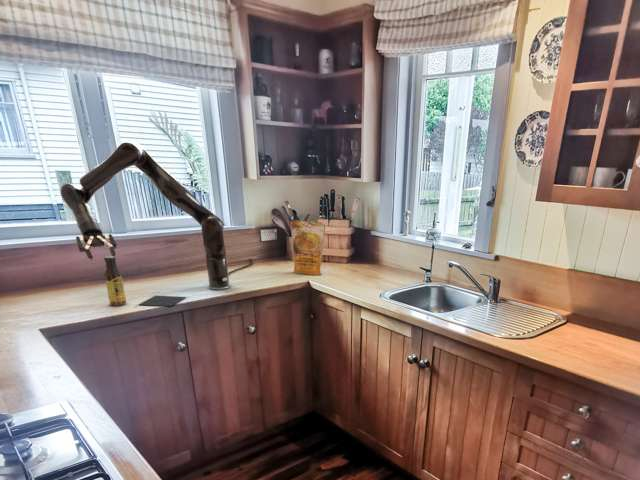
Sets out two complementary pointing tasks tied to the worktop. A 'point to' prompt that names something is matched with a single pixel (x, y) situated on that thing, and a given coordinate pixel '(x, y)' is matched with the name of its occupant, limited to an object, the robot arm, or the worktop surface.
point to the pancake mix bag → (307, 246)
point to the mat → (162, 301)
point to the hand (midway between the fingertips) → (102, 257)
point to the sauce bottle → (114, 282)
